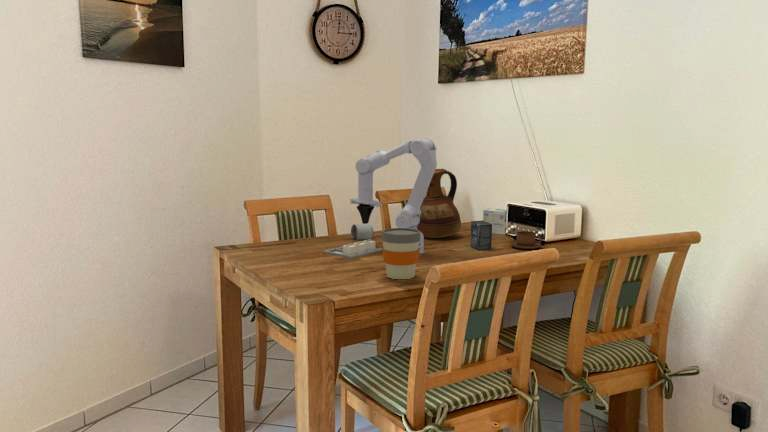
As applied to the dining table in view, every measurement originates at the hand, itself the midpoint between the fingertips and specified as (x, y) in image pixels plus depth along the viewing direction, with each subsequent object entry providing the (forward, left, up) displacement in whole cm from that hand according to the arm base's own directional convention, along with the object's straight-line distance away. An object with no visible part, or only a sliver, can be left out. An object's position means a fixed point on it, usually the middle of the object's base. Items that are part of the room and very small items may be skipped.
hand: (365, 223), depth 237 cm
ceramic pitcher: (-8, -39, -10) cm, 41 cm away
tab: (-8, +18, -9) cm, 21 cm away
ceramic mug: (+12, -10, -10) cm, 19 cm away
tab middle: (-8, +12, -9) cm, 17 cm away
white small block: (-8, +6, -9) cm, 13 cm away
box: (-35, -30, -10) cm, 47 cm away
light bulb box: (-23, -64, -10) cm, 69 cm away
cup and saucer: (-48, -43, -10) cm, 65 cm away
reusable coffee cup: (-38, +26, -10) cm, 47 cm away
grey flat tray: (-4, +12, -10) cm, 16 cm away
